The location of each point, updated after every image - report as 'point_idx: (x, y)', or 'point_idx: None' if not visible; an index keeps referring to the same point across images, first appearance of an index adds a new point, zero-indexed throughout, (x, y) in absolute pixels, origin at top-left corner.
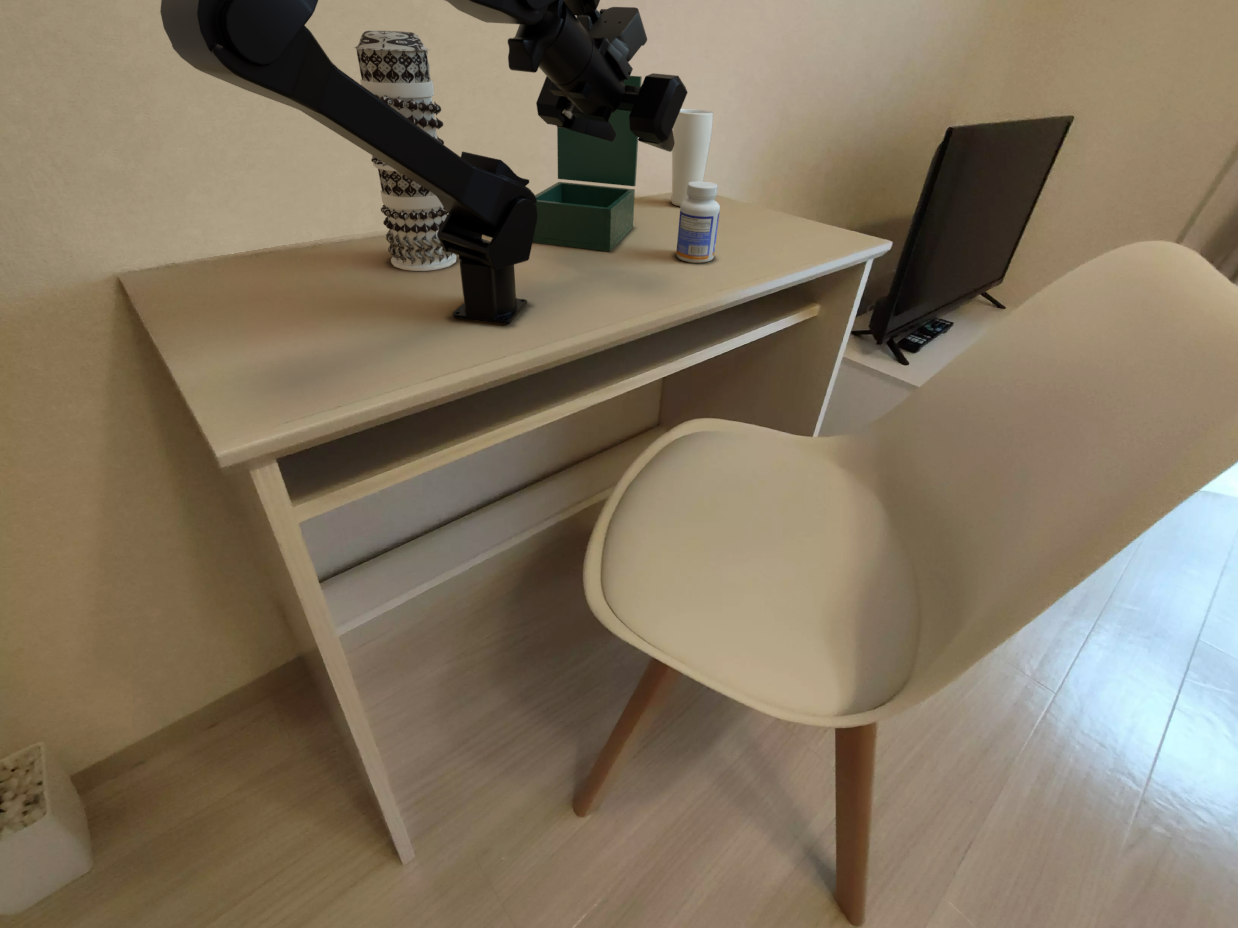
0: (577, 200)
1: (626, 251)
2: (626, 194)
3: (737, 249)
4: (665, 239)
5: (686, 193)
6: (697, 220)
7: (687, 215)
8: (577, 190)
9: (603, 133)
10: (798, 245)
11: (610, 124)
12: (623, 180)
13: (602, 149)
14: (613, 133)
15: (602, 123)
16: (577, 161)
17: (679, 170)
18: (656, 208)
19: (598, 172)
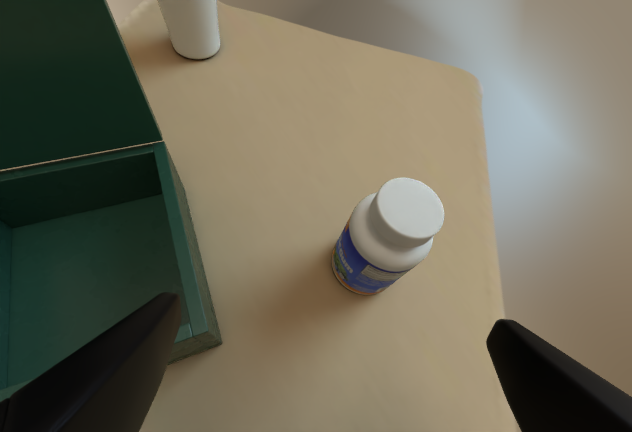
0: (31, 199)
1: (248, 315)
2: (169, 187)
3: (380, 185)
4: (267, 208)
5: (202, 39)
6: (408, 270)
7: (388, 271)
8: (15, 187)
9: (139, 402)
10: (423, 127)
11: (146, 335)
12: (130, 137)
13: (21, 92)
14: (170, 314)
15: (110, 415)
16: None
17: (178, 4)
18: (164, 78)
19: (48, 140)
